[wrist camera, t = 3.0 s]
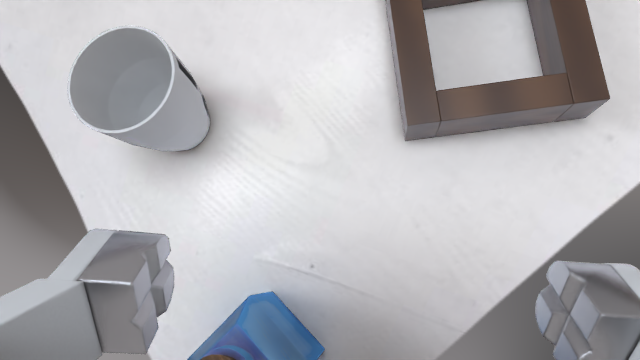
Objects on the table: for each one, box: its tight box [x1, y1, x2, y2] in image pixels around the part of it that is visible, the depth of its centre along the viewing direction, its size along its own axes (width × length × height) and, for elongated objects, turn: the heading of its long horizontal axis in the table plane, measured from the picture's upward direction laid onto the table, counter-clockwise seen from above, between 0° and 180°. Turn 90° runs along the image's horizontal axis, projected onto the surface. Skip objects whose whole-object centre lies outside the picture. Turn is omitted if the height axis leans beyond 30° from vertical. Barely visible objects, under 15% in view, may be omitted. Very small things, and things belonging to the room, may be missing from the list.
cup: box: [67, 26, 210, 151], centre depth 35 cm, size 8×8×10 cm
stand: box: [385, 0, 610, 141], centre depth 36 cm, size 14×14×4 cm
